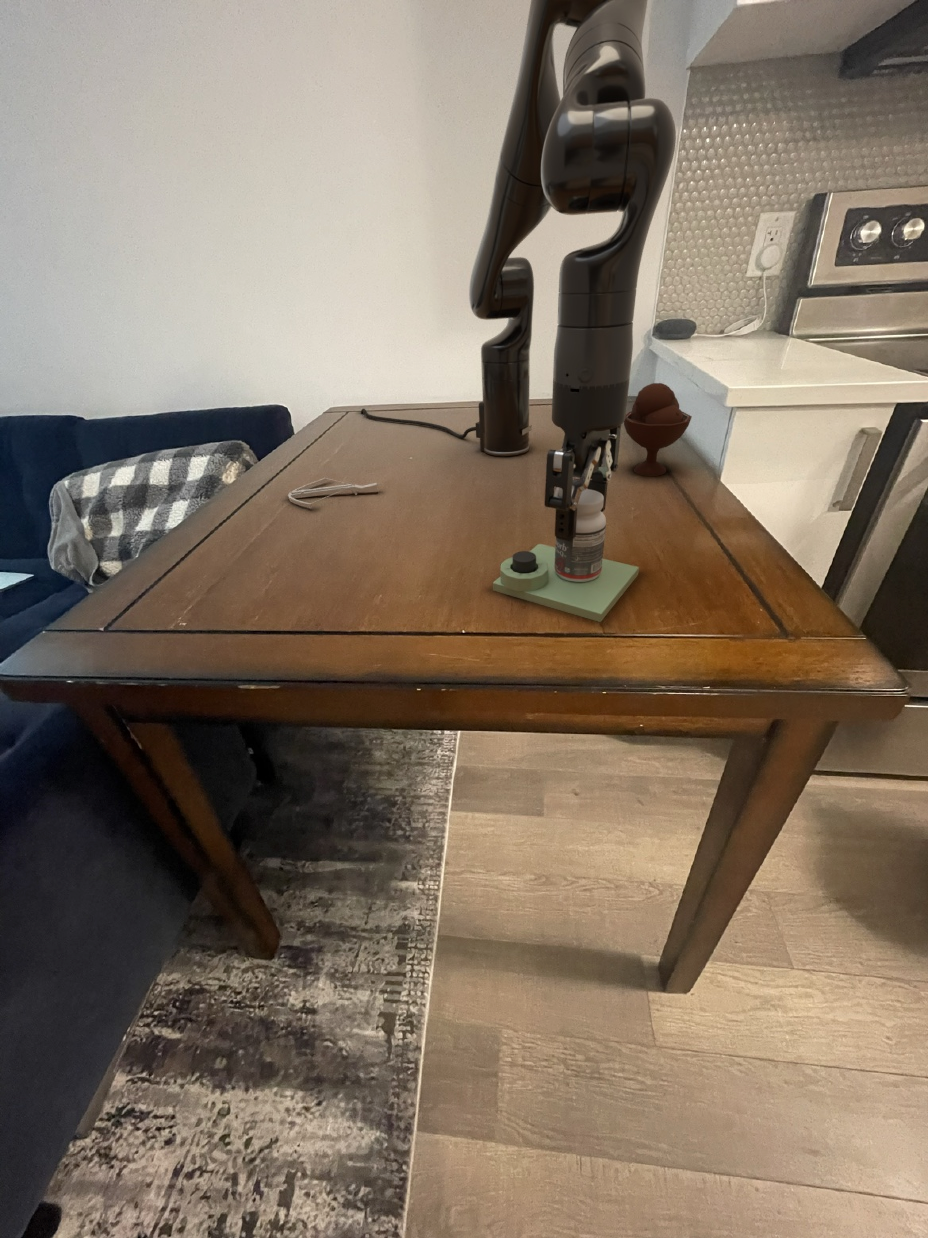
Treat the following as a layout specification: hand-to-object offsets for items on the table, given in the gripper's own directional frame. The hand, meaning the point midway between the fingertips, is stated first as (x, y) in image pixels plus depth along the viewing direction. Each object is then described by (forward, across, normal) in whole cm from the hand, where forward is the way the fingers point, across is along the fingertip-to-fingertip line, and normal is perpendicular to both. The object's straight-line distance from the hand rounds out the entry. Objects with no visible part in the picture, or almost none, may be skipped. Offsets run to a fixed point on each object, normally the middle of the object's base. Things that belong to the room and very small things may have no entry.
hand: (580, 524), depth 63 cm
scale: (+8, +1, -1) cm, 8 cm away
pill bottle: (+7, 0, 0) cm, 7 cm away
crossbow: (+8, -7, -50) cm, 51 cm away
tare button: (+5, +4, -5) cm, 8 cm away
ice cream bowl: (+8, -42, -5) cm, 43 cm away
